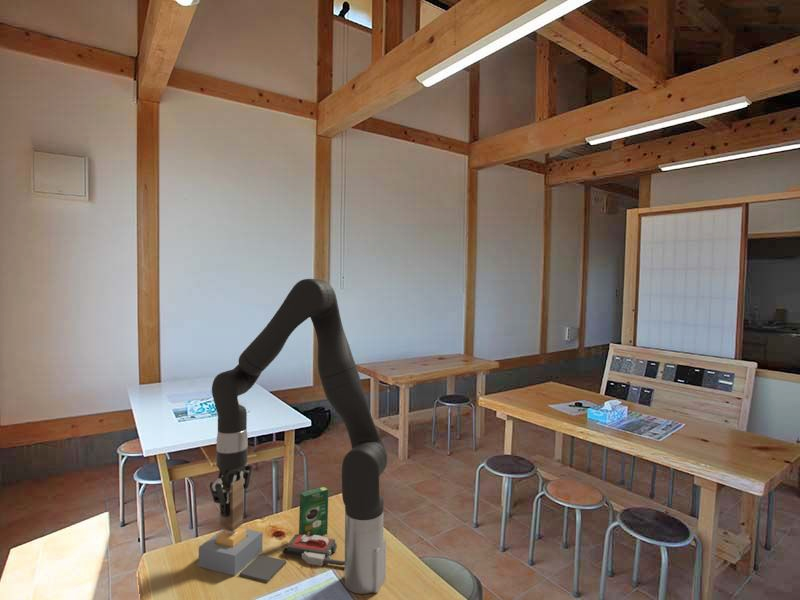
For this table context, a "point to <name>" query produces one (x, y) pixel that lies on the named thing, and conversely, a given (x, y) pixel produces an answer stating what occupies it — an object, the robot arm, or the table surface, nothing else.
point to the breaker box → (230, 553)
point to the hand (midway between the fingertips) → (231, 511)
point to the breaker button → (231, 537)
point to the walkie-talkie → (313, 549)
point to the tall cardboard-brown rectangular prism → (234, 508)
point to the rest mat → (263, 568)
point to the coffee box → (314, 512)
